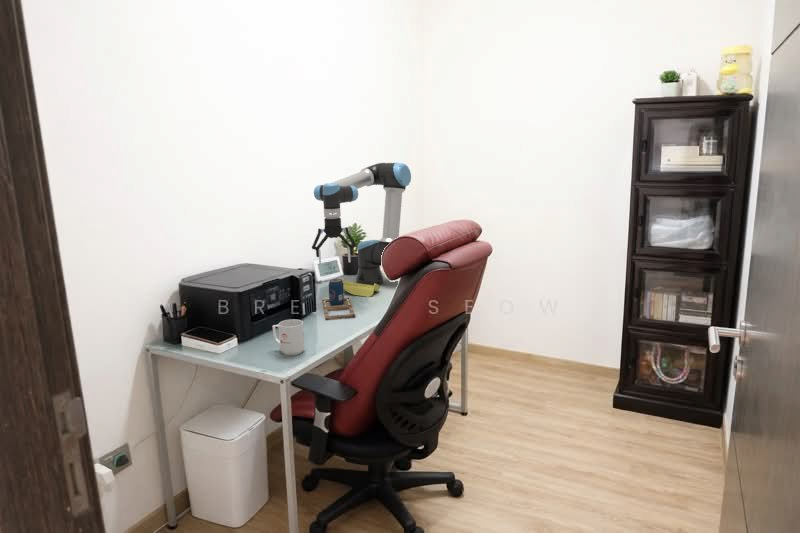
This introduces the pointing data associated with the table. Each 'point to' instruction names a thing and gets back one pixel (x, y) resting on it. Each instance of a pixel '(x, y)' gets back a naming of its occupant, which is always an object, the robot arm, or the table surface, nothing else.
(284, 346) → the mug
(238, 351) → the table surface
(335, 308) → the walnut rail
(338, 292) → the soda can
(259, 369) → the table surface
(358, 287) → the plastic component
